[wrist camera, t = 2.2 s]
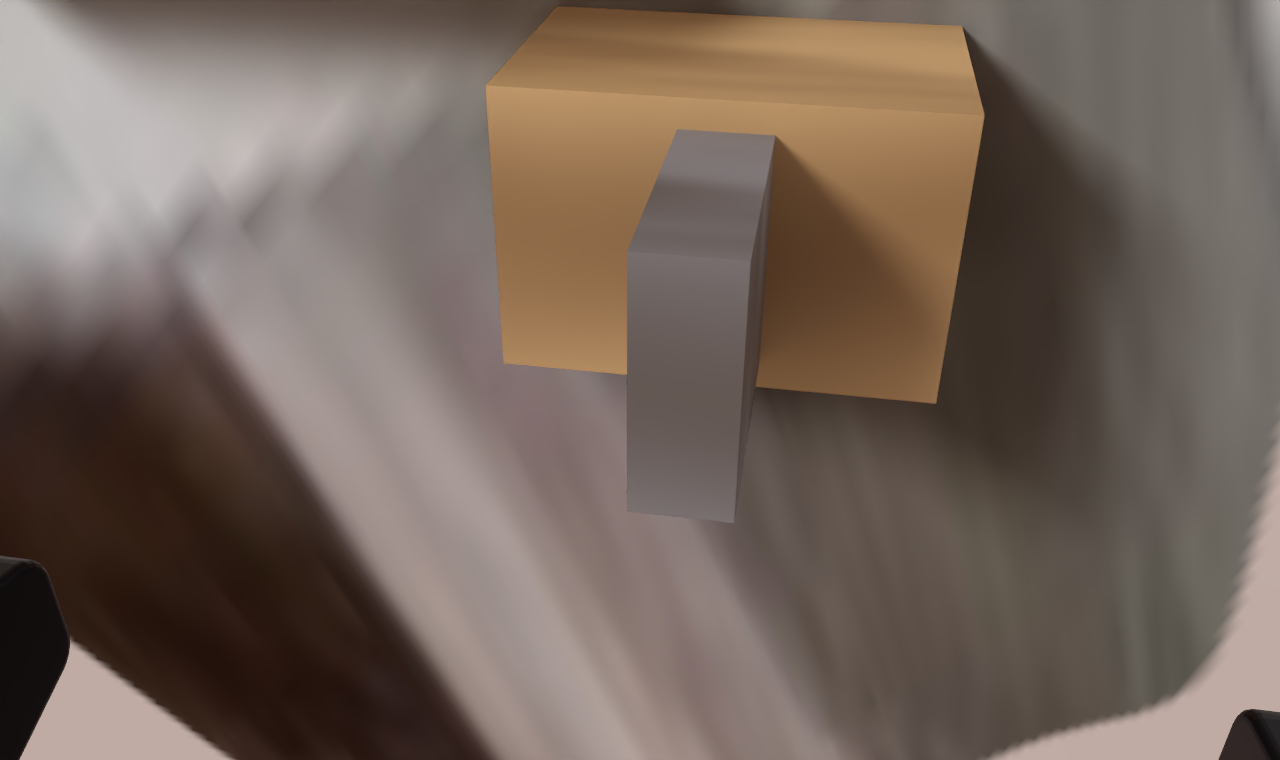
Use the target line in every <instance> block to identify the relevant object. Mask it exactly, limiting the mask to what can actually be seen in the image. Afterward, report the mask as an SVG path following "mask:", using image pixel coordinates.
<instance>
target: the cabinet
mask: <svg viewBox="0 0 1280 760" xmlns="http://www.w3.org/2000/svg"><path fill="white" fill-rule="evenodd" d="M485 87H486V102H487V117H488V132H489V148H490V163H491V178H492V193H493V208H494V224H495V239H496V254H497V269H498V285H499V300H500V315H501V330H502V345H503V361H504V363H508V364H519V365H529V366H540V367H551V368H561V369H572V370H583V371H593V372H604V373H614V374H625V375H627V511H629V512H638V513H647V514H656V515H665V516H674V517H683V518H692V519H701V520H710V521H719V522H729V523H734V521H735V514H736V508H737V502H738V495H739V489H740V482H741V476H742V470H743V463H744V457H745V451H746V444H747V438H748V432H749V425H750V419H751V412H752V406H753V400H754V393H755V387H764V388H774V389H785V390H796V391H806V392H817V393H828V394H838V395H849V396H860V397H870V398H881V399H892V400H902V401H913V402H923V403H934V404H936V400H937V395H938V389H939V383H940V377H941V371H942V365H943V359H944V353H945V347H946V341H947V335H948V329H949V324H950V318H951V312H952V306H953V300H954V294H955V288H956V282H957V276H958V270H959V264H960V258H961V253H962V247H963V241H964V235H965V229H966V223H967V217H968V211H969V205H970V199H971V193H972V187H973V181H974V176H975V170H976V164H977V158H978V152H979V146H980V140H981V134H982V128H983V122H984V116H985V115H984V111H983V107H982V103H981V99H980V95H979V91H978V87H977V83H976V79H975V76H974V72H973V68H972V64H971V60H970V56H969V52H968V48H967V44H966V40H965V36H964V32H963V28H962V26H946V25H926V24H906V23H886V22H865V21H845V20H825V19H805V18H785V17H765V16H744V15H724V14H704V13H684V12H664V11H643V10H623V9H603V8H583V7H563V6H557V7H556V8H555V9H554V10H553V11H552V13H551V14H550V15H549V16H548V17H547V18H546V19H545V20H544V21H543V23H542V24H541V25H540V26H539V27H538V28H537V29H536V30H535V31H534V32H533V34H532V35H531V36H530V37H529V38H528V39H527V40H526V41H525V42H524V44H523V45H522V46H521V47H520V48H519V49H518V50H517V51H516V52H515V53H514V55H513V56H512V57H511V58H510V59H509V60H508V61H507V62H506V63H505V65H504V66H503V67H502V68H501V69H500V70H499V71H498V72H497V73H496V75H495V76H494V77H493V78H492V79H491V80H490V81H489V82H488V83H487V84H486V86H485Z"/></svg>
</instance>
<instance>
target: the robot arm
mask: <svg viewBox="0 0 1280 760" xmlns="http://www.w3.org/2000/svg"><path fill="white" fill-rule="evenodd" d="M69 648H70V636H69V632H68V629H67V626H66V623H65V620H64V617H63V614H62V611H61V608H60V605H59V603H58V600H57V597H56V594H55V591H54V588H53V585H52V582H51V579H50V577H49V574H48V572H47V570H46V569H45V568H44V567H43V566H42V565H41V564H40V563H39V562H37V561H34V560H30V559H23V558H14V557H6V556H0V760H19V759H20V757H21V755H22V753H23V751H24V749H25V747H26V745H27V743H28V741H29V739H30V737H31V735H32V733H33V731H34V729H35V727H36V725H37V723H38V721H39V718H40V717H41V715H42V712H43V710H44V708H45V706H46V704H47V702H48V700H49V698H50V696H51V694H52V692H53V690H54V688H55V686H56V684H57V682H58V680H59V678H60V676H61V674H62V672H63V670H64V667H65V665H66V662H67V659H68V655H69ZM1219 760H1280V712H1272V711H1264V710H1256V709H1250V710H1245V711H1243V712H1242V713H1240V714H1239V715H1238V716H1237V718H1236V719H1235V721H1234V723H1233V725H1232V728H1231V730H1230V733H1229V735H1228V737H1227V740H1226V742H1225V745H1224V747H1223V750H1222V752H1221V755H1220V757H1219Z"/></svg>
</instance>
